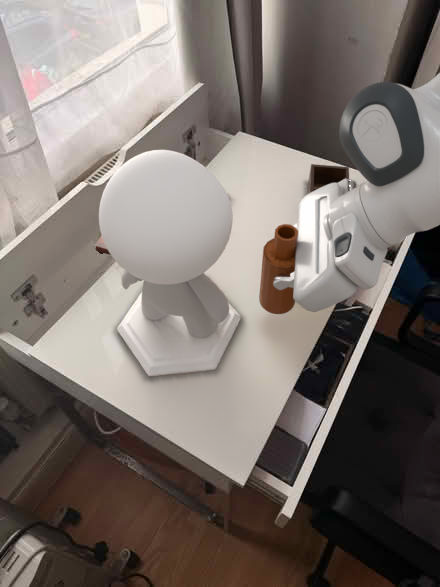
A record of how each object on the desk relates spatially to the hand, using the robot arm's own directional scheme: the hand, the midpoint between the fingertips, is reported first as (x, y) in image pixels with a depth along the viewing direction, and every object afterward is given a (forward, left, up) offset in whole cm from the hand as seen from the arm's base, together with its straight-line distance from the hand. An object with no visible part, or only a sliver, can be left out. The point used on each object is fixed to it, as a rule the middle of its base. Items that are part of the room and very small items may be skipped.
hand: (277, 265), depth 66 cm
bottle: (-1, 0, -9) cm, 9 cm away
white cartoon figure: (+17, +2, -18) cm, 24 cm away
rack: (-10, -33, -18) cm, 39 cm away
